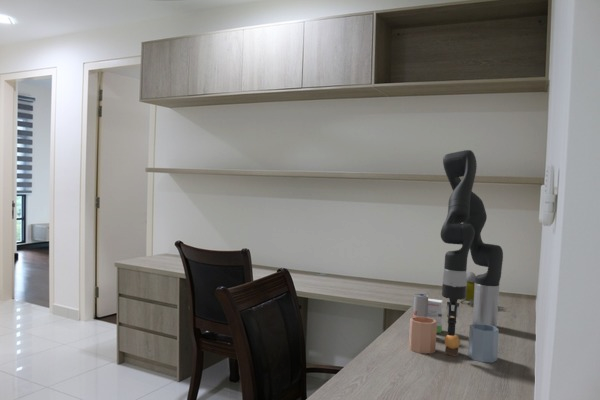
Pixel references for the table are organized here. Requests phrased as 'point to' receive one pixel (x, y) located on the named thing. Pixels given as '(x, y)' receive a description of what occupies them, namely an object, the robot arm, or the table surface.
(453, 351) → the brown square tube
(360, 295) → the table surface
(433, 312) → the ink box
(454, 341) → the orange ball
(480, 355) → the tube slate
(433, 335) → the tube terracotta
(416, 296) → the beverage can
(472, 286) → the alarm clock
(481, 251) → the robot arm
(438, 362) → the table surface
